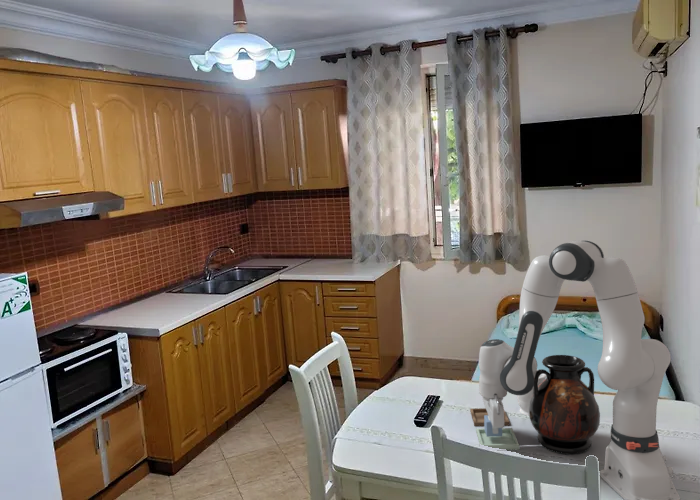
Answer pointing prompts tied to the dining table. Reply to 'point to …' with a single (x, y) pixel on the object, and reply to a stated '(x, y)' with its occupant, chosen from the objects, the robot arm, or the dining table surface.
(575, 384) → the amphora vase
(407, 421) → the dining table surface
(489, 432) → the letter cube
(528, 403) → the jar
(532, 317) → the robot arm
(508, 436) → the sage tray
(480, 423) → the walnut tray
